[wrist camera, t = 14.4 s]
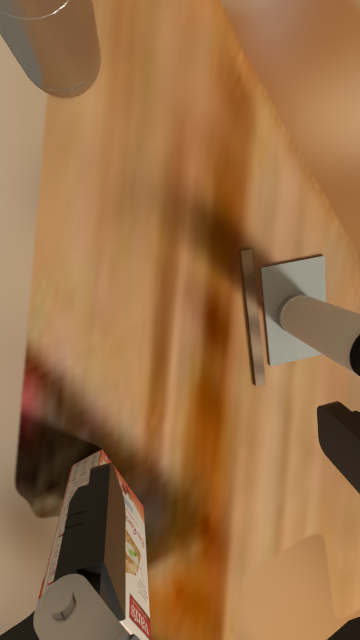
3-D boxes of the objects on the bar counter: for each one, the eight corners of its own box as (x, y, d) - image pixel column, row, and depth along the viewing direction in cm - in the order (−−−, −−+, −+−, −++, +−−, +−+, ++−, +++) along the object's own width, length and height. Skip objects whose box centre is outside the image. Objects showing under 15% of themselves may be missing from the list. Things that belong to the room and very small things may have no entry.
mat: (260, 267, 46) (261, 268, 46) (322, 255, 47) (324, 255, 47) (269, 365, 51) (270, 366, 50) (326, 352, 52) (327, 353, 51)
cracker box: (145, 503, 54) (154, 660, 34) (115, 520, 54) (106, 686, 34) (104, 445, 50) (86, 584, 30) (70, 463, 50) (31, 615, 30)
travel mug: (302, 283, 48) (417, 316, 29) (320, 317, 50) (440, 369, 30) (268, 308, 48) (360, 356, 29) (288, 340, 50) (387, 406, 31)
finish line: (240, 250, 45) (241, 251, 45) (250, 248, 45) (252, 249, 45) (254, 385, 51) (256, 387, 51) (264, 383, 52) (265, 385, 51)
